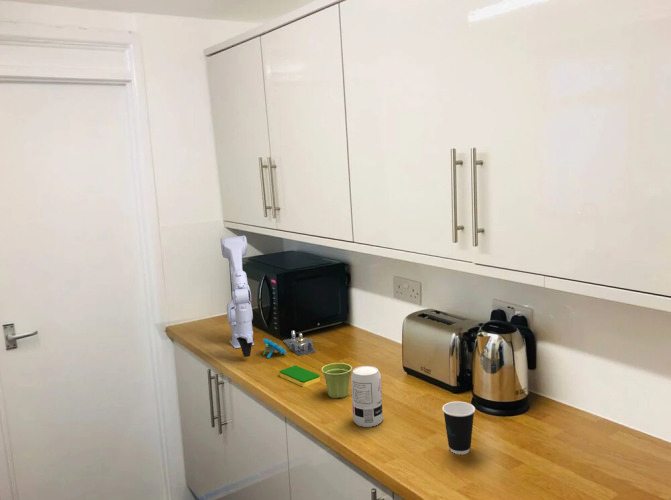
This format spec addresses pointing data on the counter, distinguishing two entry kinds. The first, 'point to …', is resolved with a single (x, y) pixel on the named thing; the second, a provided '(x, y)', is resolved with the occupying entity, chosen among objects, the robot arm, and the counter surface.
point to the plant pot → (337, 379)
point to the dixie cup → (459, 426)
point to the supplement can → (366, 396)
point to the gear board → (300, 344)
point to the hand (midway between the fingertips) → (246, 356)
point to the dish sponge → (299, 376)
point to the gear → (272, 347)
